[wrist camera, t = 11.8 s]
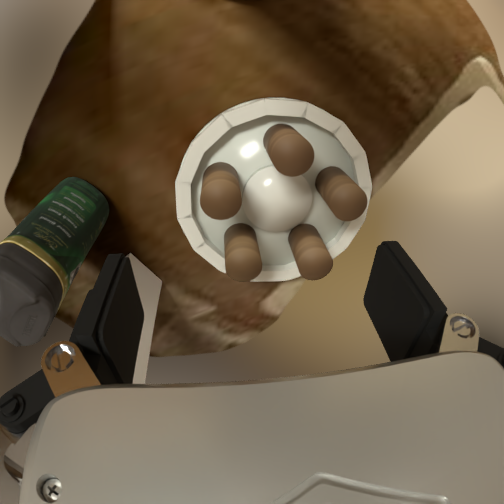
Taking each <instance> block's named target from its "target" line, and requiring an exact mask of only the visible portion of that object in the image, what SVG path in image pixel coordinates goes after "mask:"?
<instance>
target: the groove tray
mask: <svg viewBox="0 0 504 504" xmlns="http://www.w3.org/2000/svg"><path fill="white" fill-rule="evenodd" d="M280 123H283V124H288V125H290V126H292V127H293V128H294V129H295V130H296V131H298V132H299V133H300V134H301V135H302V136H303V137H304V138H305V139H306V140H308V141H309V142H310V144H311V145H312V147H313V150H314V161H313V164H312V166H311V167H310V169H309V170H308V171H307V172H305V173H304V174H302V175H299V176H295V177H290V176H285V175H283V174H281V173H280V172H278V171H277V170H276V168H275V167H274V165H273V163H272V161H271V159H270V157H269V155H268V153H267V152H266V150H265V148H264V145H263V138H264V135H265V133H266V131H267V130H268V129H269V128H270V127H271V126H273V125H275V124H280ZM217 162H225V163H228V164H230V165H232V166H233V167H234V168H235V170H236V171H237V174H238V179H239V185H240V191H241V196H242V205H241V208H240V210H239V211H238V213H237V214H236V215H234V216H233V217H231V218H229V219H226V220H216V219H212V218H210V217H209V216H207V215H206V214H205V213H204V212H203V210H202V208H201V206H200V195H201V187H202V179H203V174H204V172H205V170H206V169H207V167H209V166H210V165H211V164H213V163H217ZM329 166H336V167H339V168H340V169H342V170H343V171H344V172H345V173H346V174H347V175H348V176H349V177H350V178H351V179H352V180H353V181H354V182H355V183H356V184H357V185H358V186H359V187H360V188H361V189H362V190H363V191H364V192H365V194H366V196H367V207H366V209H365V211H364V213H363V214H362V215H361V216H360V217H358V218H357V219H355V220H352V221H342V220H339V219H338V218H336V217H335V215H334V214H333V212H332V211H331V210H330V208H329V207H328V205H327V204H326V202H325V201H324V200H323V198H322V197H321V195H320V194H319V192H318V191H317V189H316V186H315V180H316V177H317V175H318V173H319V172H320V171H321V170H322V169H324V168H326V167H329ZM175 188H176V207H177V218H178V219H177V220H178V221H179V223H180V225H181V227H182V229H183V231H184V233H185V235H186V237H187V238H188V240H189V242H190V244H191V246H192V248H193V249H194V251H196V252H197V253H198V254H199V255H201V256H202V257H203V258H204V259H206V260H207V261H208V262H209V263H211V264H212V265H213V266H214V267H216V268H217V269H218V270H219V271H220V270H221V272H224V273H226V270H225V251H224V234H225V232H226V230H227V229H228V228H229V227H230V226H232V225H234V224H237V223H244V224H248V225H250V226H251V227H252V228H253V229H254V230H255V232H256V236H257V241H258V246H259V251H260V255H261V260H262V271H261V273H260V274H259V275H258V276H257V277H256V278H255V279H253V280H251V281H253V282H260V281H286V279H287V281H288V280H291V279H294V278H297V277H300V276H301V275H300V273H299V270H298V267H297V264H296V262H295V259H294V256H293V253H292V250H291V248H290V245H289V242H288V236H289V233H290V231H291V230H292V229H293V228H294V227H295V226H297V225H299V224H311V225H313V226H314V227H315V228H316V229H317V231H318V233H319V234H320V236H321V238H322V240H323V242H324V244H325V246H326V248H327V249H328V251H329V253H330V255H331V257H332V259H334V258H335V257H336V256H338V255H339V254H340V253H342V252H343V251H344V250H346V249H345V248H347V247H348V245H349V244H350V243H351V241H352V240H353V238H354V237H355V235H356V234H357V232H358V231H359V229H360V228H361V226H362V224H363V223H364V220H365V219H366V214H367V210H368V205H369V201H370V196H371V191H372V182H371V177H370V172H369V166H368V161H367V157H366V153H365V151H364V149H363V148H362V147H361V145H360V144H359V142H358V141H357V140H356V138H355V137H354V135H353V134H352V133H351V131H350V130H349V129H348V127H347V126H346V125H345V123H344V122H343V121H341V120H339V119H337V118H336V117H334V116H332V115H331V114H329V113H328V112H326V111H324V110H323V109H321V108H318V107H316V106H314V105H312V104H310V103H308V102H305V101H300V100H296V99H290V98H283V97H268V98H261V99H254V100H251V101H247V102H243V103H240V104H238V105H236V106H234V107H231V108H229V109H227V110H226V111H224V112H222V113H221V114H219V115H217V116H216V117H215V118H214V119H212V120H211V121H210V122H209V123H208V124H206V125H205V126H204V128H203V129H202V130H201V131H200V132H199V133H198V134H197V135H196V137H195V138H194V139H193V140H192V142H191V144H190V146H189V148H188V150H187V152H186V154H185V156H184V158H183V161H182V164H181V167H180V170H179V173H178V176H177V178H176V182H175Z"/></svg>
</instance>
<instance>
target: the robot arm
mask: <svg viewBox="0 0 504 504" xmlns="http://www.w3.org/2000/svg"><path fill="white" fill-rule="evenodd" d="M364 306H365V308H366V310H367V311H368V314H369V316H370V318H371V320H372V322H373V324H374V327H375V329H376V331H377V333H378V335H379V337H380V339H381V341H382V344H383V346H384V348H385V350H386V352H387V354H388V357H389V359H390V361H391V362H387V363H382V364H376V365H371V366H365V367H359V368H353V369H346V370H340V371H333V372H326V373H319V374H310V375H302V376H293V377H284V378H273V379H262V380H248V381H235V382H213V383H175V384H132V383H133V377H134V371H135V365H136V360H137V354H138V348H139V343H140V338H141V333H142V328H143V323H144V310H143V306H142V303H141V299H140V296H139V292H138V288H137V285H136V281H135V277H134V273H133V269H132V265H131V261H130V258H129V257H125V255H124V254H123V253H121V254H109V255H108V256H107V258H106V260H105V263H104V265H103V267H102V269H101V272H100V274H99V276H98V279H97V281H96V283H95V286H94V288H93V289H91V290H90V291H89V292H88V294H87V296H86V299H85V301H84V303H83V306H82V308H81V311H80V313H79V316H78V318H77V321H76V324H75V326H74V329H73V332H72V334H71V337H70V340H69V341H61V342H57V343H55V344H53V345H51V346H50V347H48V348H47V350H46V351H45V352H44V354H43V356H42V359H41V366H42V369H41V370H40V371H38V372H37V373H35V374H34V375H32V376H31V377H29V378H28V379H26V380H25V381H23V382H22V383H20V384H19V385H17V386H16V387H14V388H13V389H11V390H10V391H8V392H7V393H5V394H4V395H3V396H2V397H1V398H0V504H504V348H501V347H499V346H497V345H495V344H493V343H491V342H489V341H487V340H484V339H482V338H480V337H479V329H478V326H477V324H476V323H475V322H474V320H472V319H471V318H470V317H468V316H466V315H464V314H461V313H453V314H451V315H449V316H448V315H447V313H446V311H447V308H446V306H445V305H444V304H443V302H442V301H441V299H440V298H439V296H438V295H437V293H436V292H435V291H434V289H433V288H432V286H431V285H430V284H429V282H428V281H427V280H426V278H425V277H424V276H423V274H422V273H421V271H420V270H419V269H418V267H417V266H416V265H415V263H414V262H413V261H412V260H411V258H410V257H409V256H408V254H407V253H406V252H405V251H404V249H403V248H402V247H401V245H400V244H399V243H398V242H397V241H384V242H382V243H381V245H379V246H378V247H377V250H376V254H375V258H374V262H373V266H372V269H371V273H370V277H369V281H368V284H367V288H366V291H365V295H364Z"/></svg>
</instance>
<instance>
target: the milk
mask: <svg viewBox="0 0 504 504" xmlns="http://www.w3.org/2000/svg"><path fill="white" fill-rule="evenodd" d="M126 257H129V258H130V261H131V265H132V269H133V273H134V277H135V281H136V285H137V288H138V292H139V296H140V299H141V303H142V306H143V310H144V323H143V328H142V333H141V338H140V343H139V348H138V354H137V360H136V365H135V371H134V377H133V383H132V384H145V380H146V373H147V366H148V359H149V353H150V347H151V341H152V335H153V329H154V323H155V317H156V312H157V306H158V301H159V296H160V291H161V286H162V280H160V279H159V278H158V277H157V276H156V275H155V274H154V273H152V272H151V271H150V270H149V269H148V268H147V267H146V266H145V265H143V264H142V263H141V262H140V261H139V260H138V259H137V258H136V257H135V256H134V255H132V254H131V253H129V254H128V255H127V256H126Z"/></svg>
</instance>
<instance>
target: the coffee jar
mask: <svg viewBox="0 0 504 504" xmlns="http://www.w3.org/2000/svg"><path fill="white" fill-rule="evenodd" d="M108 215H109V205H108V202H107V200H106V198H105V197H104V195H103V194H102V193H101V192H100V191H99V190H98V189H96V188H95V187H94V186H93V185H91V184H90V183H88V182H86V181H85V180H82V179H80V178H77V177H69V178H66V179H64V180H63V181H62V182H60V183H59V184H58V185H57V186H56V187H55V188H54V189H53V190H52V191H51V192H50V193H49V194H48V195H47V196H46V197H45V198H44V199H43V200H42V201H41V202H40V203H39V204H38V205H37V206H36V207H35V208H34V209H33V210H32V211H31V212H30V213H29V214H28V215H27V216H26V217H25V218H24V220H23V221H22V222H21V223H20V224H19V225H18V226H17V227H16V228H15V229H14V230H13V231H12V233H11V234H10V235H9V236H8V237H7V238H5V239H4V240H3V241H2V242H1V243H0V336H1V337H3V338H4V339H6V340H7V341H9V342H10V343H12V344H13V345H15V346H28V345H32V344H35V343H37V342H39V341H40V340H41V339H42V337H43V336H45V335H46V333H47V331H48V329H49V327H50V325H51V323H52V321H53V319H54V317H55V315H56V313H57V311H58V309H59V307H60V304H61V302H62V300H63V299H64V297H65V295H66V293H67V291H68V289H69V287H70V285H71V283H72V281H73V279H74V278H75V276H76V274H77V272H78V270H79V268H80V266H81V265H82V263H83V261H84V259H85V257H86V256H87V254H88V252H89V250H90V249H91V247H92V246H93V244H94V242H95V241H96V239H97V237H98V235H99V234H100V232H101V230H102V228H103V227H104V225H105V223H106V220H107V218H108Z"/></svg>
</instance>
